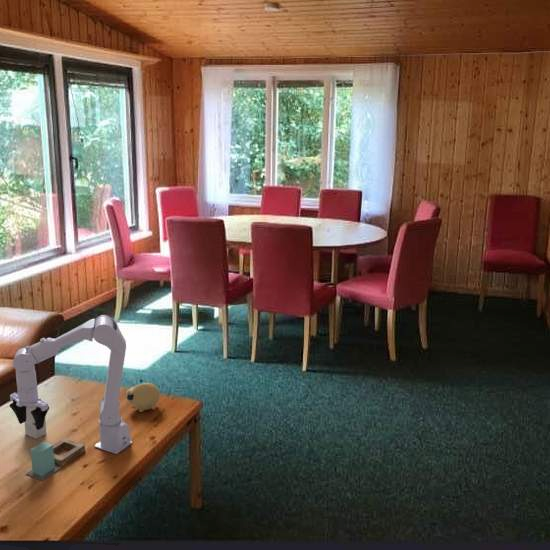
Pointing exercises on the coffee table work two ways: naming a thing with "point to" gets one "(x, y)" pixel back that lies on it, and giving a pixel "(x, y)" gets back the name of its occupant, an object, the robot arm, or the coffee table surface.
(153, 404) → the cream rounded figure
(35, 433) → the skincare box
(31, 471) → the mat
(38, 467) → the teal block
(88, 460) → the coffee table surface
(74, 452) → the block
